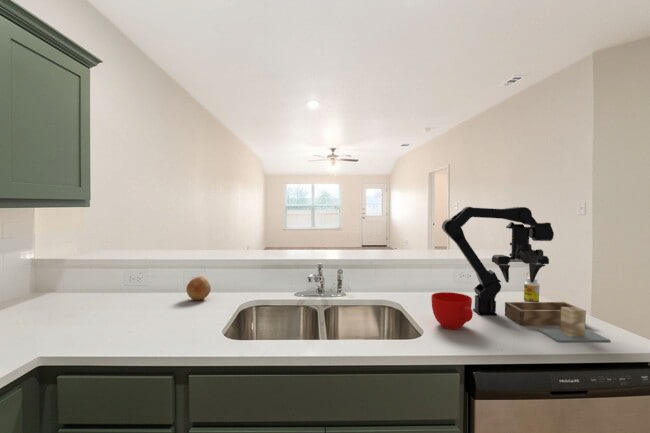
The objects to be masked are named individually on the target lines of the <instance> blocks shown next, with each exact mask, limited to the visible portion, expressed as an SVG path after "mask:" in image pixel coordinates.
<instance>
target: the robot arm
mask: <svg viewBox="0 0 650 433" xmlns="http://www.w3.org/2000/svg"><path fill="white" fill-rule="evenodd" d="M472 218H483V219H484V218H485V219H502V220H506V221H510V222H509V224H507V225H506V226H505V228H506V229H509V230H511V242H510V243H509V246H511V252H510V253H509V255H506V254H505V255H504V254H493V255H492V257H491V262H492V263H494V264H495V265H497V266H498V267H499V269H500V270H499V271H501V273H502V277H503V278H504V281H505V283H509V280H510V267H511V265H510V263H521V262H522V263H524V264H527V265H528V268H529V277H530V282H532V283H533V281H534V279H535V278H537V274H538V272H539V271H540V269H542V268H544V267H545V266H546V265H549V264H550V259H549V257H548V256H547V255H544V250H543V249H533V247H532V244H531V243H530V239H532V241H534V242H551V241H552V240H553V239H554V235H555V232H554V230H553V227H552V223H551V222H537V221H536V219H535V217H533V214H532V210H531V209H530V208H529V207H525V206H514V207H507V208H488V207H487V208H486V207H473V206H465V207H463V208H462V210H461V211H459V212H457V213H456V214H455V215H454V216H452V217H451V218H449V219H445V220H444V221H443V222H442V224H441V229H442V231H443V232H444V233H445V234H446V236H448V237H449V238H450V239H451V240H452V242H454V243H455V244H456V246H457V247H458V248H459V250H460V252H461V253H462V254H463V256H464V258H465V259H466V260H467V262H468V264H469V265H470V266H471V268H472V269H473V271H474V272H475V274H476V277H477V278H476V279H477V280H478V282H479V284H477V285H476V286H475V287H474V289H473V291H474V292H475V295H474V308H472V311H474V312H475V313H476V314H478V315H479V316H487V315H488V316H490V315H491V316H497V312H496V311H497V301H496V297H497V294H499V293H500V291H501V289H502V284H501V282H502V280H500V279H499V278H498V275H496V272H495V271H493V270H491V269H489V270H488V269H486V267H485V265H484V264H483V263H482V261H481V260H480V258H479V256H478V255H477V254H476V252H475V251H474V249H473V248H472V246H471V245H470V243H469V242H468V240H467V239H466V236H465V233H464V230H463V227H464V225H466V223H468V221H469V220H471V219H472Z"/></svg>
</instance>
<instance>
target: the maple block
mask: <svg viewBox="0 0 650 433" xmlns="http://www.w3.org/2000/svg"><path fill="white" fill-rule="evenodd" d="M579 308H580V307H578V308H577V306H575V307H561V325H560V329H561V332H562V333H564V334H566V335H568V336H570V337H585V328H586V319H585V311H586V310H585V311H584V309H583V308H580V309H579ZM582 309H583V310H582Z"/></svg>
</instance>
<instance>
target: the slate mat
mask: <svg viewBox="0 0 650 433" xmlns="http://www.w3.org/2000/svg"><path fill="white" fill-rule="evenodd" d="M537 331H538V332H540V333H542V334H543V335H544V336H547V337H549V338H551V340H553V341H555V342H557V343H585V342H586V343H588V342H589V343H591V342H592V343H593V342H594V343H595V342H596V343H597V342H598V343H603V342H604V343H606V342H607V343H608V342H611V340H610V339H609V338H607V337H605V336H603V335H601V334H598V332H597V333H596V332H595V331H593V330H591V329H588V328H586V327H585V337H570V336H568V335H566V334H564V333H562V332H561V328H537Z"/></svg>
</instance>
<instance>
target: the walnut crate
mask: <svg viewBox="0 0 650 433" xmlns="http://www.w3.org/2000/svg"><path fill="white" fill-rule="evenodd" d="M561 307H577V306H576V305H573V304H570V303H568V302H566V301H539V302H525V301H516V302H515V301H505V302H504V316H505V317H506V318H509V319H510V320H511V321H513V322H514V323H516V324H518V325H519V326H522V327H523V326H525V327H528V326H529V327H530V326H531V327H533V326H537V327H538V326H561ZM577 308H579V309H582V310H584V309H583V308H580V307H577ZM584 311H585V320H586V315H587V314H586V313H587V312H586V310H584Z"/></svg>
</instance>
